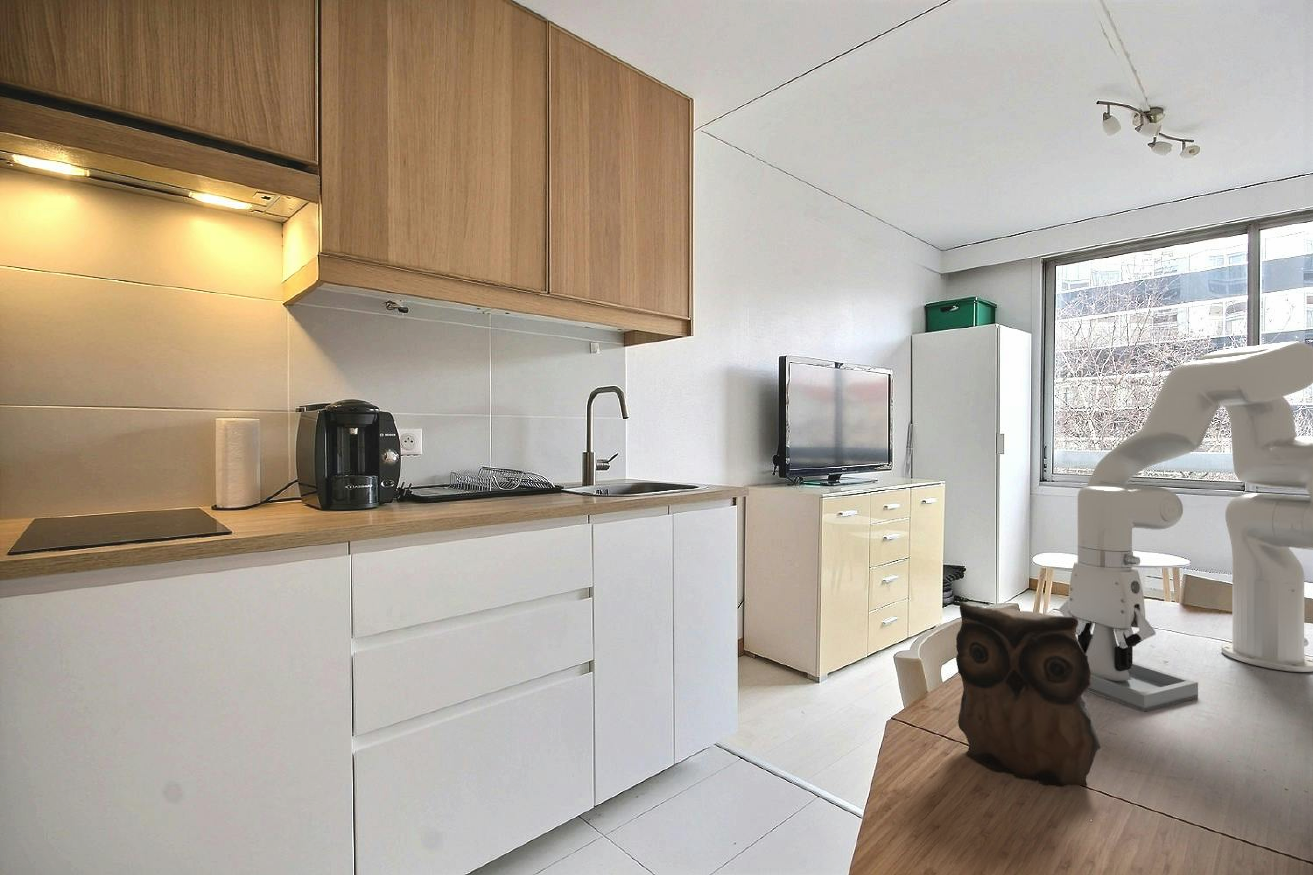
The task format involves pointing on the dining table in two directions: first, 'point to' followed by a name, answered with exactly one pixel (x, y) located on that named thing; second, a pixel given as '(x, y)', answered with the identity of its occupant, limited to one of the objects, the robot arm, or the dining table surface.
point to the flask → (1104, 654)
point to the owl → (1025, 695)
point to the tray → (1145, 688)
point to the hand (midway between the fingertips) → (1104, 662)
